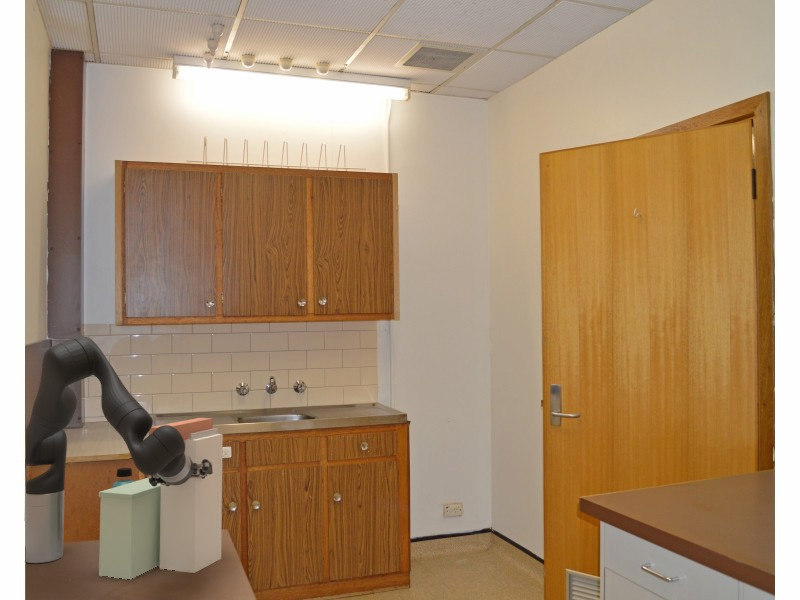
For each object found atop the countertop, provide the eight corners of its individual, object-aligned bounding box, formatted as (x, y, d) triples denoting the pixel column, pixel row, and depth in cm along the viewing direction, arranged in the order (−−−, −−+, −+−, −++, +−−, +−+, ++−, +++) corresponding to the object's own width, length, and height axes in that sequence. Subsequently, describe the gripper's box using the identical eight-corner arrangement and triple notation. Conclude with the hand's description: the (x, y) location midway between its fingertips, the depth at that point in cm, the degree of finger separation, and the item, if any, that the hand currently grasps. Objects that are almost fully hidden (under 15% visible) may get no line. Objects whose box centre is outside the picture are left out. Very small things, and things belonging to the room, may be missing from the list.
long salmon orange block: (148, 444, 172) (149, 427, 172) (199, 433, 192) (199, 417, 192) (163, 445, 171) (163, 427, 171) (212, 433, 191) (212, 418, 191)
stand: (159, 569, 180) (161, 432, 182) (187, 555, 191) (189, 426, 193) (194, 573, 177) (196, 434, 179) (221, 558, 188) (222, 428, 190)
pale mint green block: (97, 576, 174) (98, 491, 175) (149, 553, 193) (150, 477, 194) (130, 580, 172) (132, 494, 172) (180, 556, 190) (181, 479, 191)
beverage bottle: (127, 543, 202) (128, 470, 203) (105, 542, 204) (107, 469, 204) (140, 537, 209) (141, 466, 210) (119, 535, 210) (120, 465, 211)
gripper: (203, 442, 167) (213, 457, 182) (139, 455, 165) (154, 469, 180) (207, 475, 165) (217, 487, 179) (142, 488, 162) (157, 500, 177)
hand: (185, 478), depth 179 cm, fingers open, 8 cm apart
